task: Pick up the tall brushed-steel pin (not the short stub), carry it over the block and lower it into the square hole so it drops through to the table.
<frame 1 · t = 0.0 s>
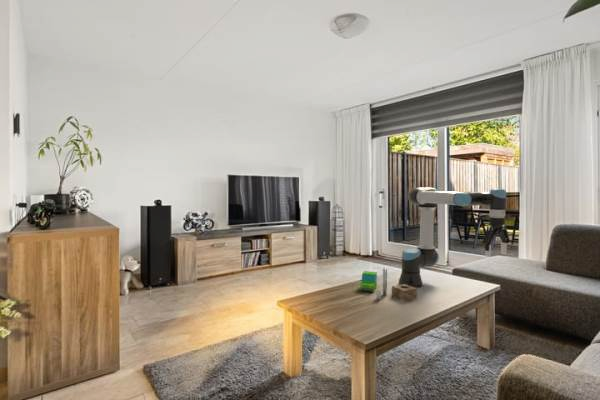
hand: (495, 255, 186), 28 cm above the table, fingers open, 13 cm apart
hole block: (404, 297, 200), on the table
toy car: (368, 289, 215), on the table
long pin: (384, 295, 204), on the table
short pin: (378, 300, 195), on the table
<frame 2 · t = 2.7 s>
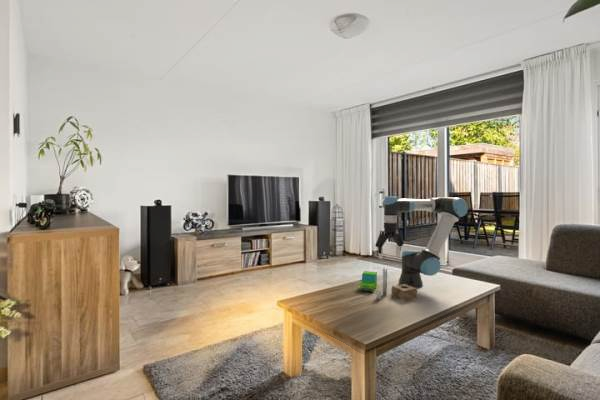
hand: (389, 257, 202), 23 cm above the table, fingers open, 13 cm apart
nothing on the table moved.
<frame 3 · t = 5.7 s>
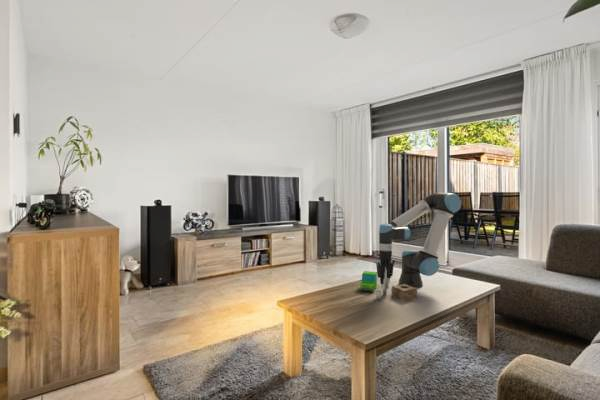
hand: (384, 288, 204), 4 cm above the table, fingers closed on long pin, 2 cm apart
long pin: (384, 295, 204), on the table, touching gripper
everything else where it was.
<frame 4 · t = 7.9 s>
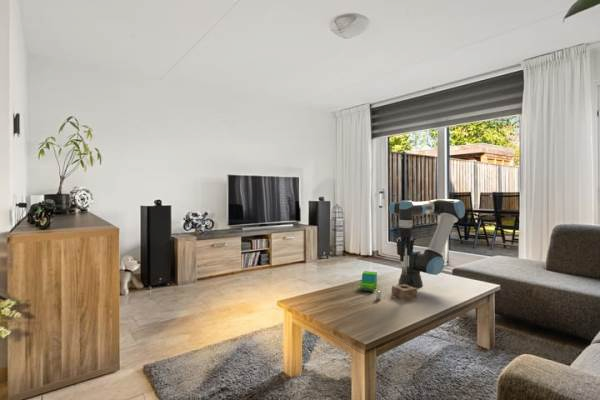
hand: (404, 266, 199), 18 cm above the table, fingers closed on long pin, 2 cm apart
long pin: (404, 274, 200), point 14 cm above the table, touching gripper
everything else where it was.
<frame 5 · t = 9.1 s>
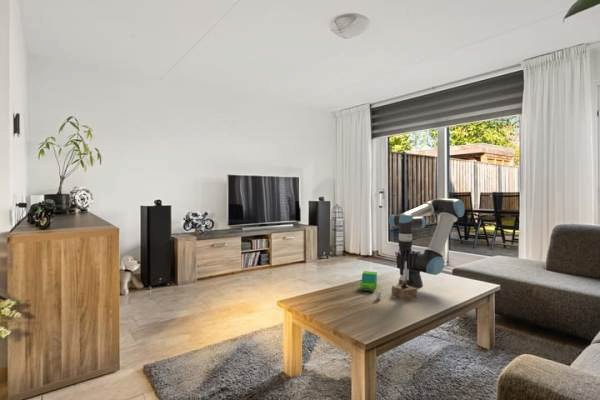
hand: (404, 279, 200), 11 cm above the table, fingers closed on long pin, 2 cm apart
long pin: (404, 287, 200), point 6 cm above the table, touching gripper
everything else where it was.
when the fingers open (8 cm above the table, at t = 10.2 s): long pin drops 3 cm, resting in hole block.
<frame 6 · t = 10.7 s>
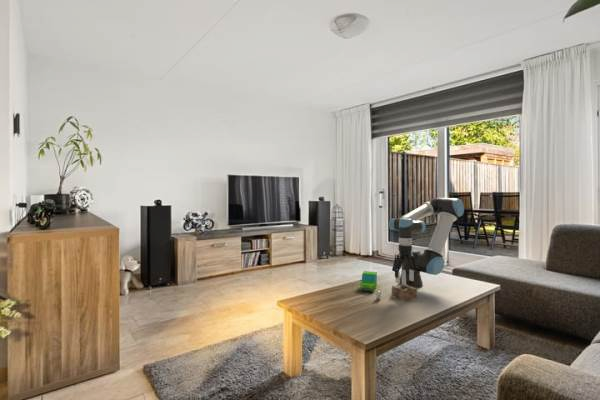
hand: (404, 281, 200), 9 cm above the table, fingers open, 10 cm apart
long pin: (404, 297, 200), resting in hole block
everything else where it was.
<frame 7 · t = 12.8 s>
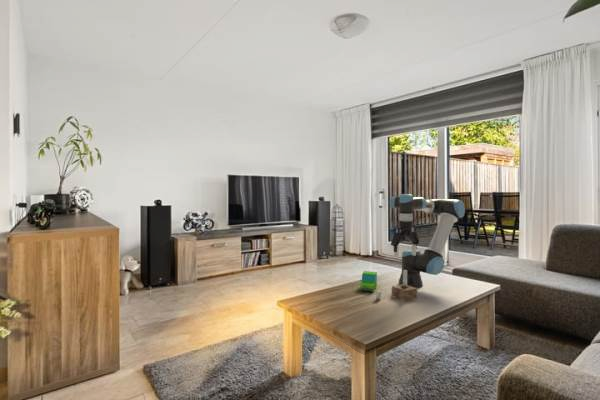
hand: (405, 256, 199), 24 cm above the table, fingers open, 13 cm apart
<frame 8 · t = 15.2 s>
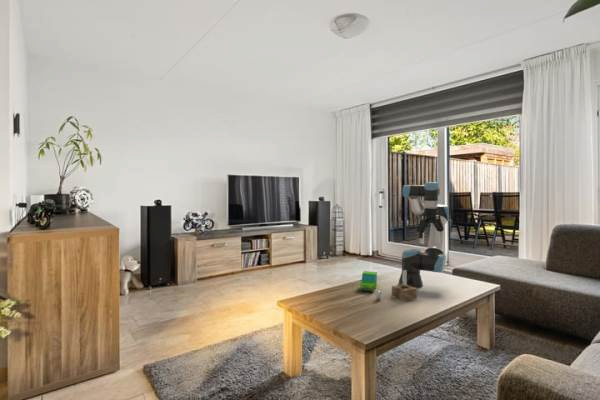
hand: (430, 242, 204), 32 cm above the table, fingers open, 13 cm apart
nothing on the table moved.
at the end: long pin 0.1 cm off-centre on the hole block, point 0.0 cm above the hole block's base; long pin tilted 1°; the gripper is holding nothing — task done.
